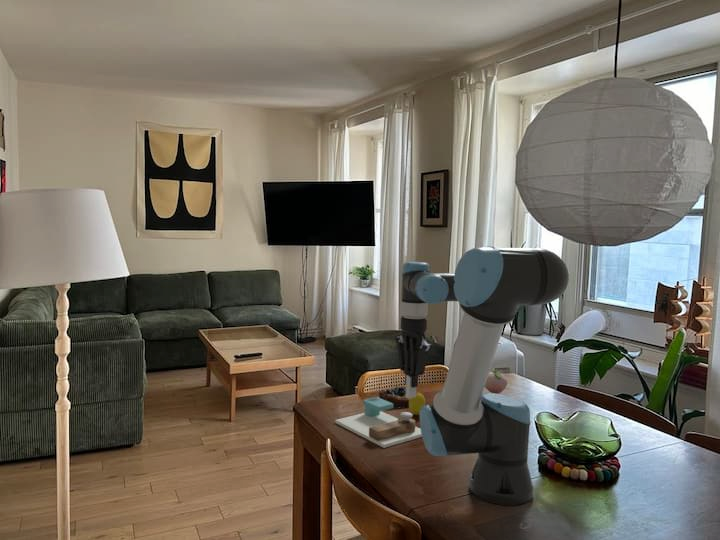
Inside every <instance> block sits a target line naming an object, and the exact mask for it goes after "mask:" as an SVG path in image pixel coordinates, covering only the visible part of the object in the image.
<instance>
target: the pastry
mask: <svg viewBox="0 0 720 540" xmlns="http://www.w3.org/2000/svg"><path fill="white" fill-rule="evenodd" d="M378 396H379V397H378V398H381V399H383V400H385V401H388V402H390V403H393V408H392V409H397V408H396V407H400V408H407V407H409V398H406V388H404V387H403V386H396V387H395V388H392V389H389V388H386V389H382V390H381V391H379V393H378ZM406 406H407V407H406Z"/></svg>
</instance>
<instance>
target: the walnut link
mask: <svg viewBox="0 0 720 540" xmlns="http://www.w3.org/2000/svg"><path fill="white" fill-rule="evenodd" d="M415 426H416V420H415V419H414V418H412V417H411V418H410V420H409V421H404V420H403V417H400V418H398V420H397V421H393V422H389V423H385V424H381V425H377V426H374V427H370V428H369V436H370V437H372V438H374V439H376V440H380V439H384V438H387V437H391V436H394V435H398V434H401V433H405V432H413V431H415Z"/></svg>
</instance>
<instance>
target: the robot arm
mask: <svg viewBox="0 0 720 540" xmlns="http://www.w3.org/2000/svg"><path fill="white" fill-rule="evenodd" d="M569 275H570V274H569V270H568V267H567V265H566V263H565V261H564V259H562V258H561V257H560V256H559V255H558V254H556V253H555V252H552V251H550V250H548V249H544V248H540V247H495V246H490V245H489V246H485V247H474V248H471V249H468V250H467V251H466V252H464V254H462V256H461V257H460V259H459V260H458V261H457V265H456V267H455V270H454V272H452V273H451V272H450V273H449V272H447V273H444V272H441V273H440V272H439V273H438V272H436V273H435V272H434V273H433V272H431V270H430V264H429V263H428V262H423V261H406V262H404V263H403V265H402V273H401V302H400V303H401V305H400V315H401V316H400V324H399V325H400V330H401V335H400V336H395V339H394V340H395V343H396V345H397V353H398V363H399V370H400V371H401V372H403V373H404V384H405V390H406V398H409V399H410V398H414V397H416V392H417V387H418V386H419V382H418V381H419V376H423V375H424V374H425V372H426V371H425V370H426V366H427V361H428V357H429V353H430V351H431V350H432V345H433V344H431V343H428V342H427V341H426V334H425V333H426V332H427V329H428V318H427V316H428V308H429V307H428V305H429V304H433V305H436V304H439V303H441V302H458V304H459V307H460V309H461V311H462V312H463V314H462V318H461V320H460V321H461V322H460V326H459V328H458V329H459V331H458V332H457V336H456V340H455V345H454V349H453V352H452V355H451V359H450V363H449V366H448V370H447V374H446V377H445V381H444V383H443V387H442V389H441V390H439V391H438V392H436V394H435V395H434V397H433V400H432V404H425V406H422V408H421V410H420V413H419V428H420V429H421V434H422V437H421V438H422V441H423V444H424V446H425V448H426V450H427V452H428V453H429V454H431V456H434V457H448V456H449V457H450V456H460V455H470V454H478V456H477V460H476V461H475V464H474V466H473V469H472V471H471V474H470V477H469V489H470V491H471V493H472V494H473V495H475V496H476V497H477V498H479V499H481V500H482V501H484V502H488V503H491V504H496V505H501V506H502V505H503V506H519V505H524V504H526V503H528V502H530V501H531V500H532V499H533V497H534V484H533V480H532V477H531V472H530V469H529V466H528V455H529V442H530V441H529V440H530V438H529V437H530V425H531V410H530V407H529V405H528V404H527V403H525V401H523V400H521V399H518V398H516V397H513V396H511V395H510V396H509V395H506V394H501V393H499V394H495V393H491V392H489V393H487V392H486V393H484V390H485V384H486V381H487V377H488V374H489V372H491V367H492V364H493V362H494V357H495V355H496V352H497V348H498V346H499V342H500V340H501V336H502V332H503V329H504V326H505V325H507V324H509V323H511V322H513V321H514V319H515V317H516V314H517V311H518V308H519V307H520V306H522V307H523V306H541V305H547V304H550V303H553V302H555V301H557V300H558V299H559V298H560V297H561V296H562V295H563V294H565V291H566V289H567V287H568V285H569V281H570V276H569ZM483 393H484V394H483Z"/></svg>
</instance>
